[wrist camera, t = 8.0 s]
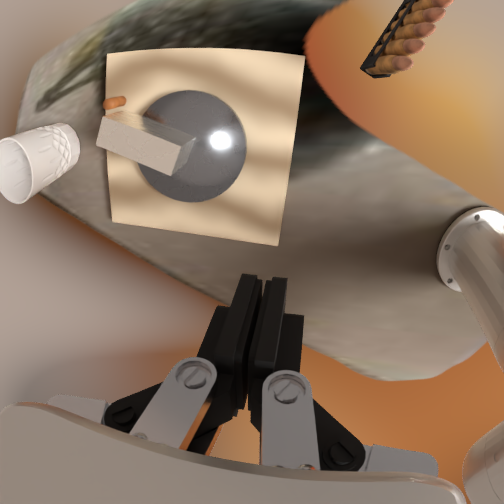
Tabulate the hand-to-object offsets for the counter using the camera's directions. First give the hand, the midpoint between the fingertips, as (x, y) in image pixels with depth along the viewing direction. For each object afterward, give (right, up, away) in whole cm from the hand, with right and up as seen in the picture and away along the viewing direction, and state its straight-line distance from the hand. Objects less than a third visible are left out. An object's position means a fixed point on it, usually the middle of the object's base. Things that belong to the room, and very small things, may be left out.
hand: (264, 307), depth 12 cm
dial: (-8, +13, +19) cm, 24 cm away
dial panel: (-7, +14, +21) cm, 26 cm away
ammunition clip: (+14, +24, +12) cm, 30 cm away
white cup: (-25, +16, +22) cm, 38 cm away
